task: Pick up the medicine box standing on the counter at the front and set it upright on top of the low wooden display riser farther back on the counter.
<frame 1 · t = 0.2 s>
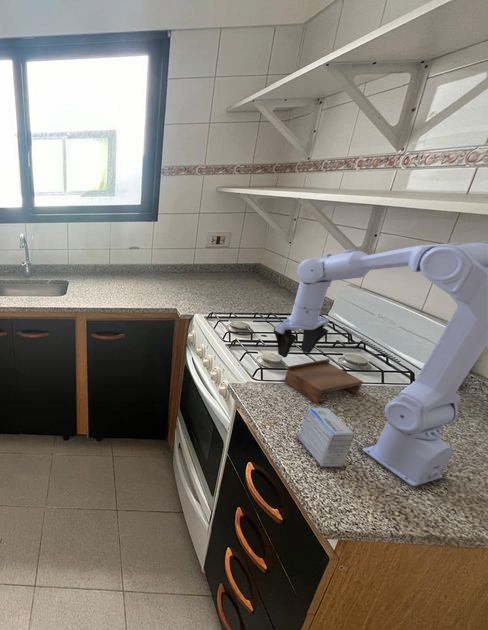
hand: (293, 353, 91), 10 cm above the counter, tool pointing down, fingers open, 7 cm apart
wooden display riser: (320, 387, 94), on the counter
medicine box: (318, 453, 73), on the counter
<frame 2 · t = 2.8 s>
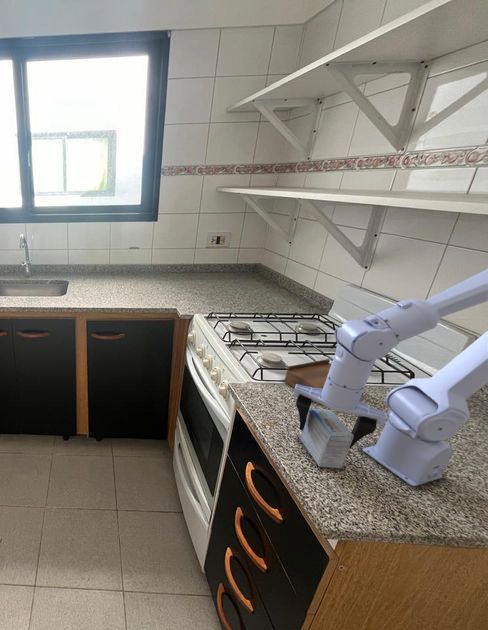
hand: (324, 436, 71), 4 cm above the counter, tool pointing down, fingers closed on medicine box, 7 cm apart
medicine box: (318, 454, 73), on the counter, touching gripper
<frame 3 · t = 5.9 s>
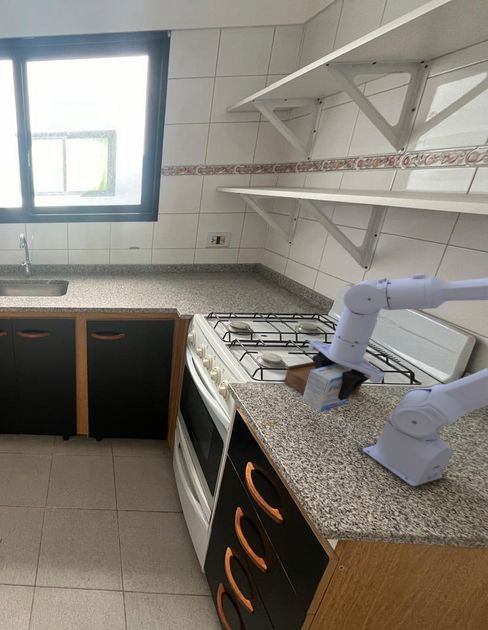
hand: (331, 391, 77), 9 cm above the counter, tool pointing down, fingers closed on medicine box, 4 cm apart
medicine box: (322, 403, 77), point 6 cm above the counter, touching gripper
when the fingers open (7 cm above the counter, at t = 8.3 s): medicine box stays where it is, resting on wooden display riser.
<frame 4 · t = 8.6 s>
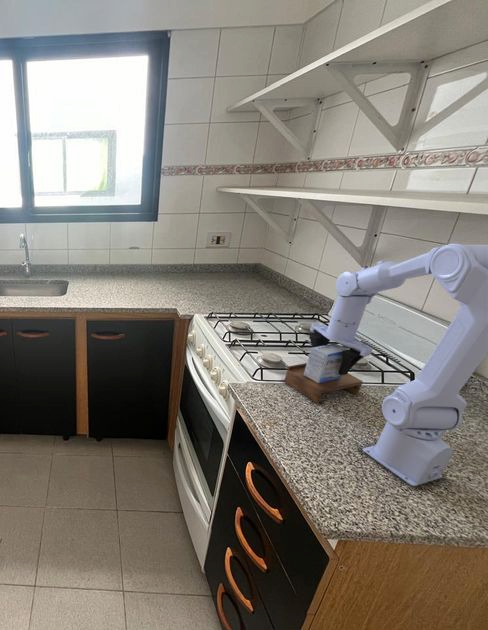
hand: (329, 366, 90), 7 cm above the counter, tool pointing down, fingers open, 7 cm apart
medicine box: (321, 377, 91), point 4 cm above the counter, touching wooden display riser
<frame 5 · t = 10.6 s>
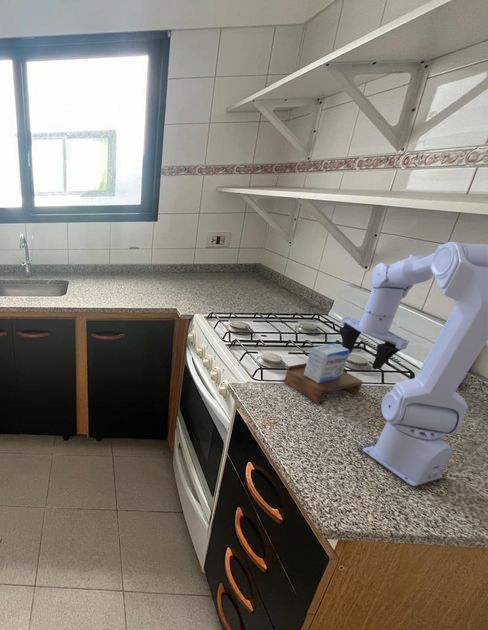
hand: (360, 360, 89), 9 cm above the counter, tool pointing down, fingers open, 7 cm apart
nothing on the counter moved.
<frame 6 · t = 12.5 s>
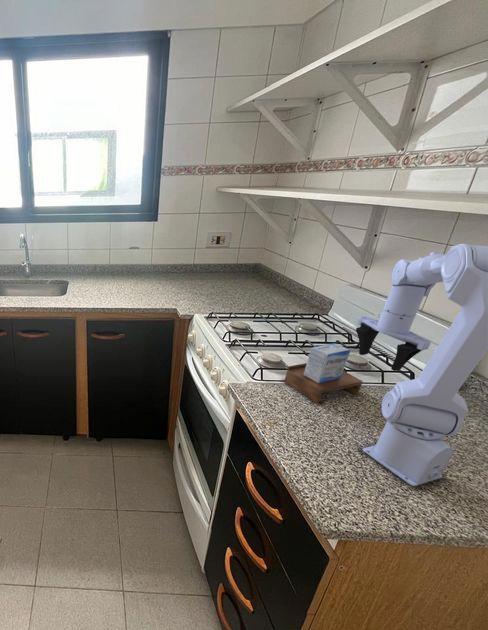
hand: (378, 361, 86), 10 cm above the counter, tool pointing down, fingers open, 7 cm apart
nothing on the counter moved.
at the end: medicine box inside the target area on the wooden display riser (1.6 cm from its centre), point 3.8 cm above the wooden display riser's base; medicine box tilted 0°; the gripper is holding nothing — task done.
